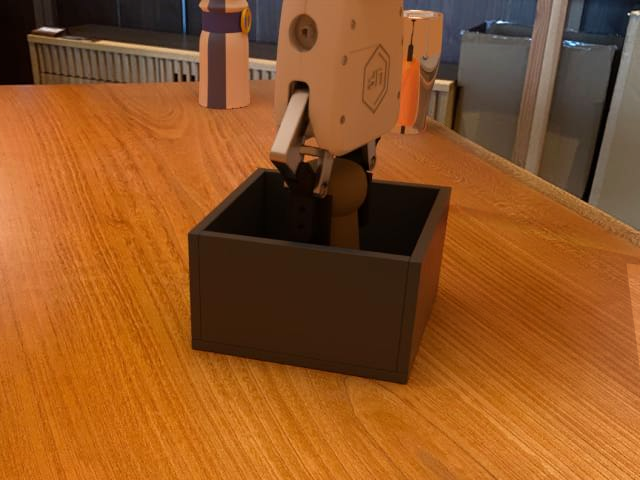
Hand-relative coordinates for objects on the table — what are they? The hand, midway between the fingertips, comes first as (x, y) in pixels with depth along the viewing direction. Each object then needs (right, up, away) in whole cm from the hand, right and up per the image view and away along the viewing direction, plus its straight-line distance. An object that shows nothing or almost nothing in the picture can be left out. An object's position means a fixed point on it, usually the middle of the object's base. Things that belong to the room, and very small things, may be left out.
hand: (328, 232), depth 61 cm
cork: (0, -5, +3) cm, 6 cm away
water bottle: (-9, +32, +65) cm, 73 cm away
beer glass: (+14, +21, +46) cm, 53 cm away
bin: (0, -6, +4) cm, 7 cm away
